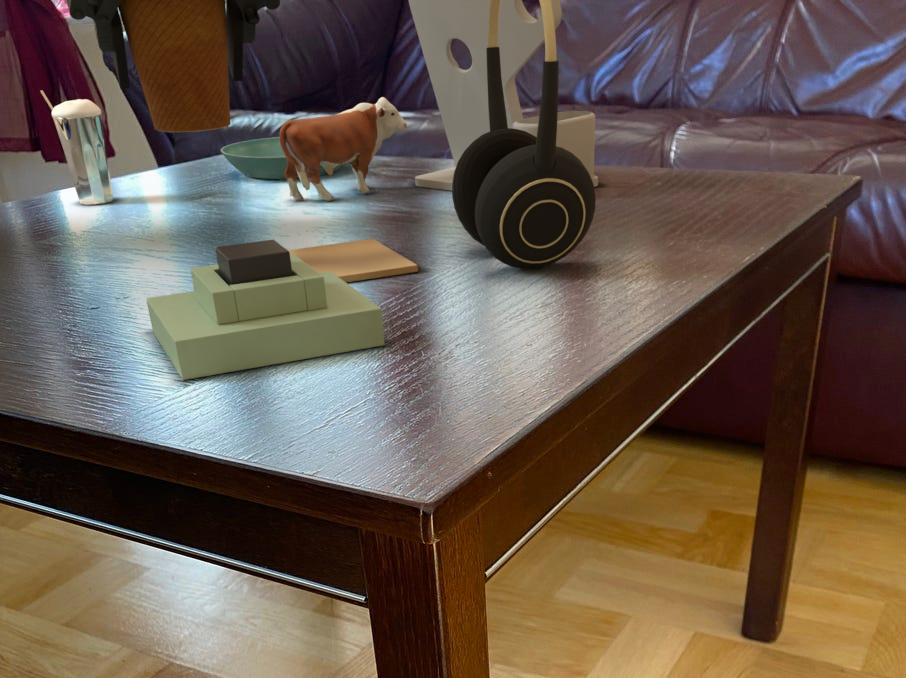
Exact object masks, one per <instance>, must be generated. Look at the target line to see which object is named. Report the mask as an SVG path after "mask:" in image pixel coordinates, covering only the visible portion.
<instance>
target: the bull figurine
mask: <svg viewBox="0 0 906 678" xmlns="http://www.w3.org/2000/svg"><path fill="white" fill-rule="evenodd" d="M407 126H408V122H407V121H406V120H405V119H404V118H403V117H402V115H401V113H400V112H399V111H398V109H397V108H396V107H395V105H393V104H392V103H391V102H390V101H389V100H388V99H387V98H386V97H384V96H381V97H380V98H378V100H377V102H376V103H369V102H360V103H358V104H356V105H355V106H354V107H352V108H349V109H346V110H344V111H341V112H339V113H336V114H331V115H325V116H316V117H315V116H314V117H307V118H299V119H288V120H287V121H285V122H284V123H283V124H282V125H281V127H280V130H279V136H278V137H279V139H280V145H281V148H282V151H283V153H284V155H285V157H286V159H287V168H286V170H285V173H284V175H285V177H286V179H285V180H286V182H287V185H288V187H289V197H292V198H293V200H294V201H296V202H297V201H299V202H300V201H303V200H304V196H303V194H302V193H301V191H300V190H299V186H298V181H297V179H299V181H300V184H301V186H302V187H303V188H304V190H306V191H309V190H310V188H311V184H312V185H313V186H314V188H315V190H316V192H317V196H318V198H319V199H322V200H323V199H324V200H325V201H327V202H330V201H334V200H335V197H334V196H333V194H332V193H331V192H330V191H328V190H327V188H326V187H325V186H324V183H323V182H322V178H321V175H319V165H321V166H322V167H323V168H324V169H325V170H326V172H327V173H328V174H327V175H329V176H332V175H333V174H334V172H333V169H334V168H335V167H336V166H338V165H341V164H343V165H344V164H349V165H350V166H351V167H350V168H351V169H352V171H353V173H354V174H355V177H356V189H357V190H358V191H359V192H361V193H362V194H364V195H368V194H371V190H370V189H369V188H370V186H369V184H368V183H367V182H366V178H367V176H368V173H369V166H370V163H371V162H372V161H373V159H374V156H375V155H376V154H377V153H378V151H379V149H381V147H382V144H383V141H384V140H385V139H389V138H390V137H392V135H393V134H394V133H395V132H396V131H399V132H403V131H404V130H406V129H407ZM297 176H299V178H297Z"/></svg>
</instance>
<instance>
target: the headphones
mask: <svg viewBox="0 0 906 678" xmlns="http://www.w3.org/2000/svg"><path fill="white" fill-rule="evenodd" d="M499 6H500V0H491V2H490V12H489V26H488V48H486V50H487V83H488V108H489V124H490V132H488V133H485V134H483V135H481V136H480V137H479V138H477V139H476V140H475V141H473V142H472V143H471V144H470V145H469V147H468V148H467V149H466V150H465V151H464V152H463V154H462V156H461V157H460V159H459V161H458V163H457V166H456V169H455V171H454V176H453V182H452V191H451V197H452V203H453V208H454V211H455V213H456V215H457V218H458V221H459V222H460V224H461V226H462V227H463V228H464V230H465V231H466V232H467V234H468V235H469V236H470V237H471V238H472V239H474V241H476V242H478V244H480V245H482V246H484V247H485V249H486V250H487V251H488V252H489V254H491V255H492V256H493V257H494V258H495V259H496V260H497V261H499V262H501V263H502V264H504V265H507V266H509V267H511V268H516V269H521V270H535V269H539V268H544V267H547V266H551V265H552V264H555V263H556V262H558V261H560V260H562V259H563V258H565V257H567V256H568V255H569V254H570V253H571V252H573V251H574V250H575V249H576V248H577V247H578V246H579V244H580V243H582V242H583V240H584V238H585V236H586V235H587V233H588V232H589V230H590V227H591V225H592V223H593V220H594V215H595V211H596V202H597V201H596V200H597V199H596V198H597V197H596V191H595V187H594V184H593V181H592V179H591V176H590V174H589V172H588V171H587V169H586V168H585V166H584V165H583V163H582V162H581V161H580V159H578V158H577V157H576V156H575V155H574V154H573V153H571V152H569V151H567V150H565V149H564V148H561V147H557V146H556V137H557V116H558V112H559V65H560V64H559V63H560V62H559V60H558V59H557V40H556V29H555V26H554V18H553V11H552V5H551V0H540V2H539V6H540V12H541V11H542V18H543V27H544V37H545V42H544V48H545V51H544V52H545V53H544V60H543V62H542V82H541V99H540V106H539V107H540V108H539V115H538V116H539V123H538V131H537V137H536V136H534V135H532V134H530V133H528V132H526V131H522V130H518V129H512V128H508V125H507V117H506V109H505V102H504V94H503V86H502V78H501V65H500V49H499V47H498V40H497V34H498V16H499Z"/></svg>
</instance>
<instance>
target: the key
mask: <svg viewBox="0 0 906 678" xmlns="http://www.w3.org/2000/svg"><path fill="white" fill-rule="evenodd" d="M214 250H215V255H216V261H217V264H218V267H219V273H220V277H221V278H222V279H223V280H224V281H225V282H226V283H227V284H228V285H229V286H230V285H235V284H241V283H248V282H255V281H262V280H269V279H276V278H283V277H290V276H293V274H292V267H291V259H290V252H289V251H288V250H289V249H287V248H285V247H284V246H283V245H282V244H281V243H279V242H278V241H276V240H275V239H266V240H259V241H251V242H244V243H235V244H229V245H222V246H216V247H215V249H214Z"/></svg>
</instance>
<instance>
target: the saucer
mask: <svg viewBox="0 0 906 678" xmlns="http://www.w3.org/2000/svg"><path fill="white" fill-rule="evenodd" d="M220 152H221V154H222V155H223V157H224V158H225V159H226V160H227V162H228V163H230V165H231V166H233V168H235V169H236V170H237V171H238V172H239V173H241V174H243V175H244V176H247V177H248V178H249V177H250V178H254V179H264V180H287V179H286V177H285V175H284V173H285V170H286V168H287V159H286V157H285V155H284V153H283V151H282V148H281V145H280V139H279V136H274V137H265V138H256V139H249V140H244V141H239V142H235V143H234V142H233V143H230V144H227V145H225V146H223V147H222V148H220ZM343 165H344V164H341V165H338V166H336V167H335V168H334V169H333V173H334V172H336V171H338V170H339V169H340V168H342V166H343ZM319 175H320V176H323V175H329V174H328V173H327V172H326V170H325V169H324V168H323V167H322V166H321V165H319ZM297 179H300V178H299V176H297Z"/></svg>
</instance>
